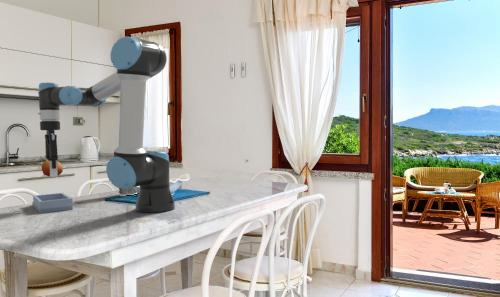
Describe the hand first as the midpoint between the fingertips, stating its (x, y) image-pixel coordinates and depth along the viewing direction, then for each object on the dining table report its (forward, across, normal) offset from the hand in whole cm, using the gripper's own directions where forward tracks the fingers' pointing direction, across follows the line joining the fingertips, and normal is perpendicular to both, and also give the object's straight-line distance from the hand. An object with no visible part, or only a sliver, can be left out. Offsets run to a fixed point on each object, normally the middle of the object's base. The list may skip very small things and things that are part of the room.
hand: (52, 175), depth 183 cm
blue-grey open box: (+13, -1, 0) cm, 13 cm away
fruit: (+1, 0, 0) cm, 1 cm away
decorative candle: (+14, -14, +35) cm, 40 cm away
